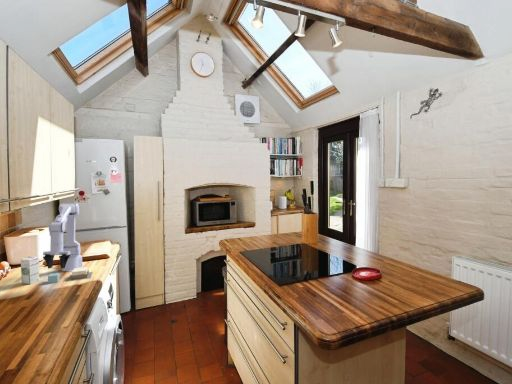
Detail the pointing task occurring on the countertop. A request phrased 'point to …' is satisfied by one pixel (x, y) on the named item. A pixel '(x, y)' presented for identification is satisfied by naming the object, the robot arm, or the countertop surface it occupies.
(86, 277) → the walnut slab
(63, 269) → the robot arm
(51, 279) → the teal cube
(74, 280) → the slate mat
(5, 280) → the countertop surface
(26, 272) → the syrup box
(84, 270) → the cream slab
